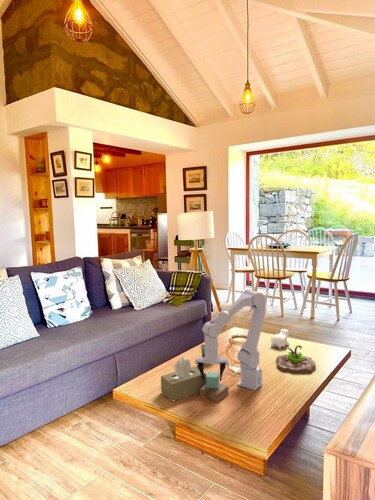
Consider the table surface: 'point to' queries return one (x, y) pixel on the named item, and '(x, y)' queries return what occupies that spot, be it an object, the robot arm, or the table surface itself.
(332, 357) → the table surface
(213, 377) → the teal cube
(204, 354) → the food container
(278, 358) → the plant
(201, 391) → the walnut block
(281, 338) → the white animal figurine
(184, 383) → the tissue box
